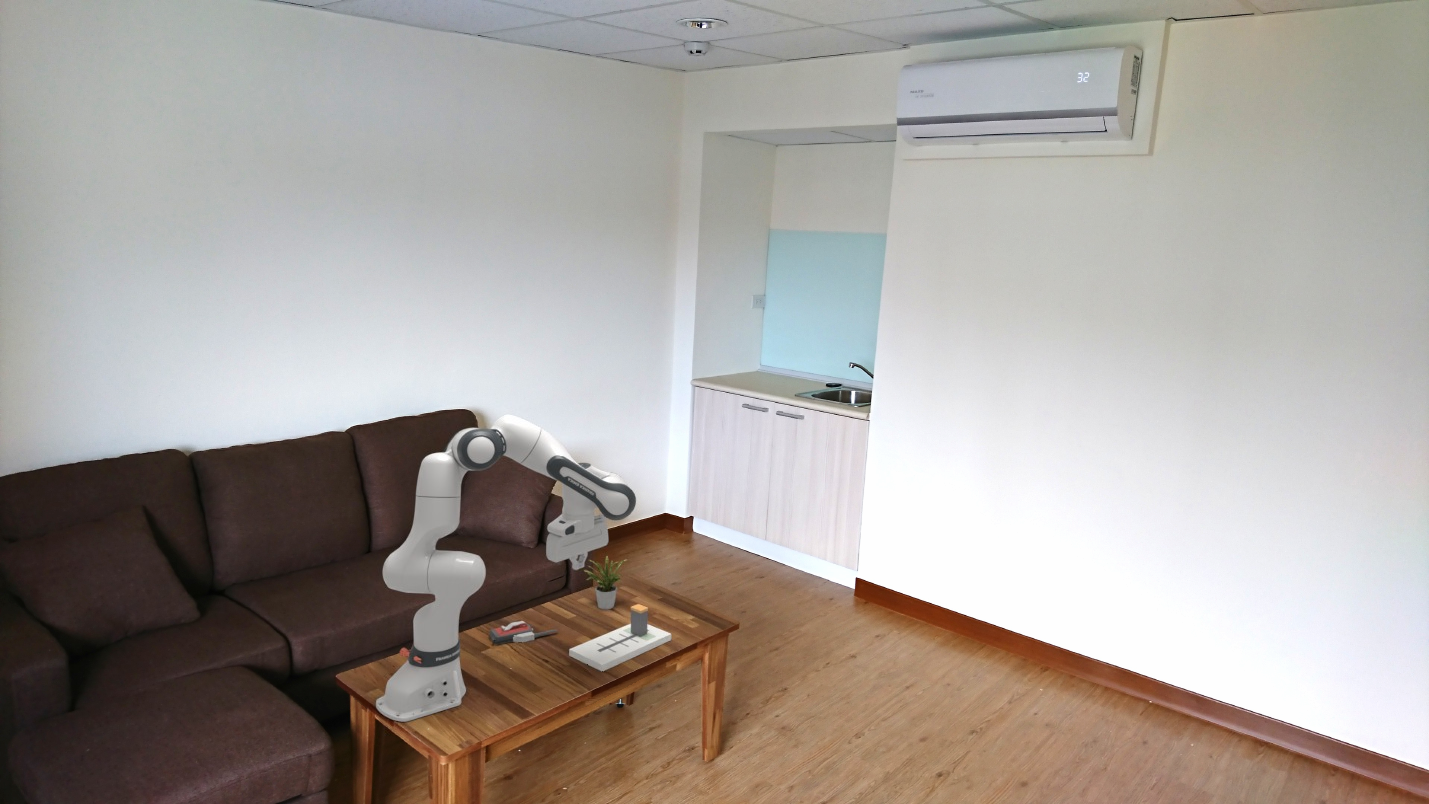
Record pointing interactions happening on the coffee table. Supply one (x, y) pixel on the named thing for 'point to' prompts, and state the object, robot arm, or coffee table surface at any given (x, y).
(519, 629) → the red and grey tool
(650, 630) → the console
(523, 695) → the coffee table surface
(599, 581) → the house plant
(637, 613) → the fader knob
